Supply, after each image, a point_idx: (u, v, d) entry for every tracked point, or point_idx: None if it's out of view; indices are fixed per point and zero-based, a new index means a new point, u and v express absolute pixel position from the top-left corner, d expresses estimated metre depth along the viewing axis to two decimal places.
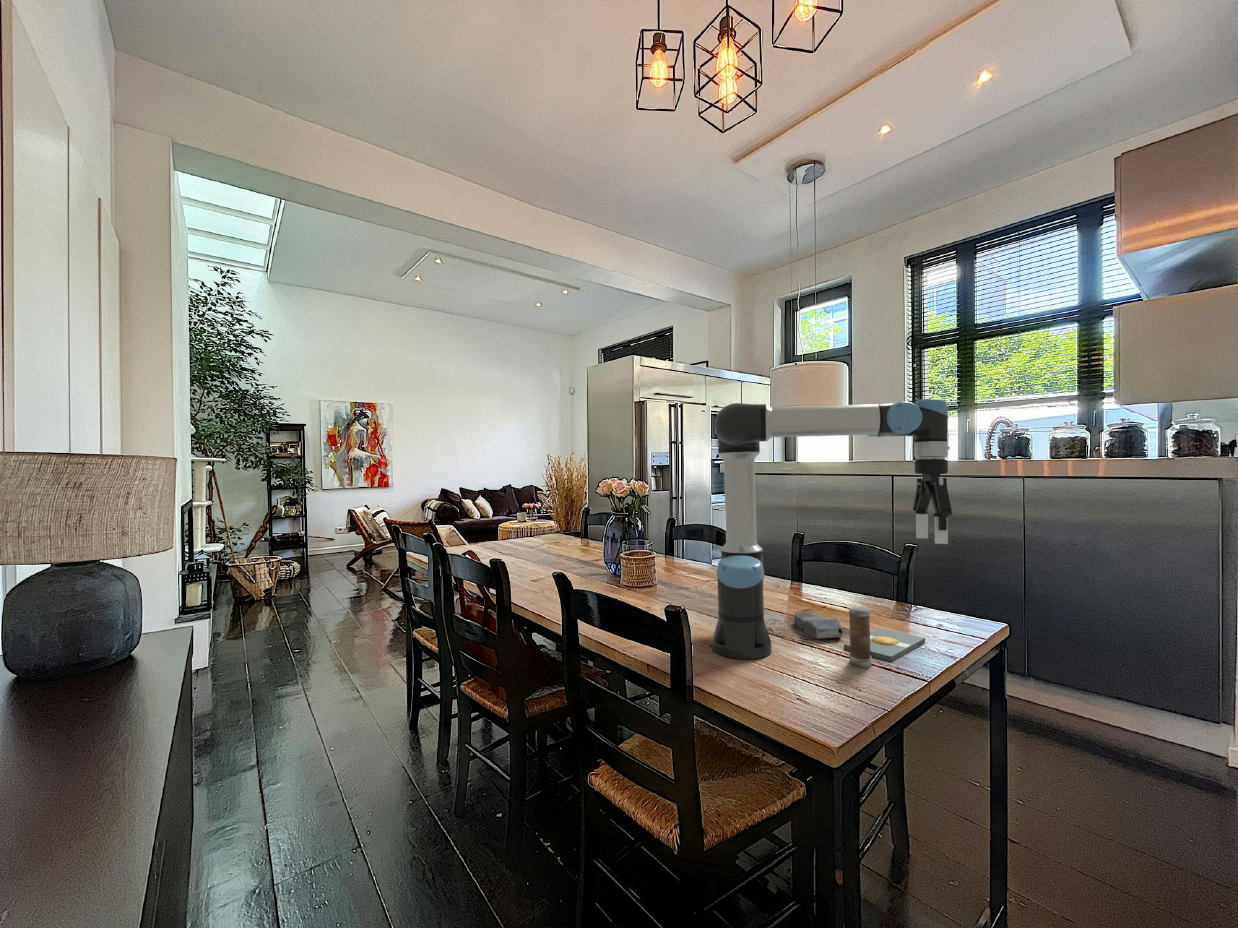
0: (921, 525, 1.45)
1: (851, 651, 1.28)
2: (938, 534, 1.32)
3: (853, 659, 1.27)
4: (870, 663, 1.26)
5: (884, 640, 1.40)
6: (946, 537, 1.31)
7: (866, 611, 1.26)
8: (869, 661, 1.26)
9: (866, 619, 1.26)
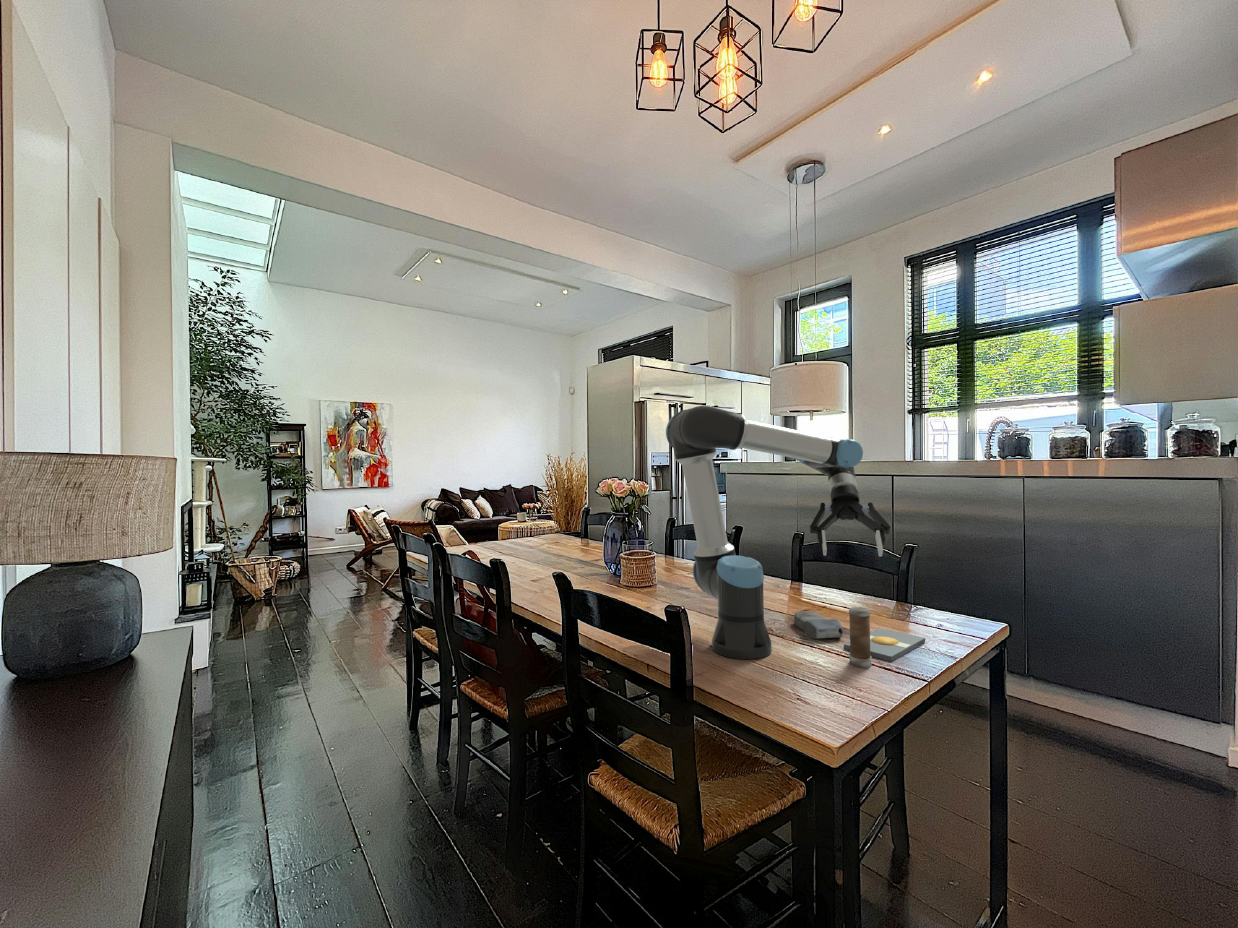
0: None
1: (851, 651, 1.28)
2: (881, 544, 1.40)
3: (853, 659, 1.27)
4: (870, 663, 1.26)
5: (884, 640, 1.40)
6: None
7: (866, 611, 1.26)
8: (869, 661, 1.26)
9: (866, 619, 1.26)
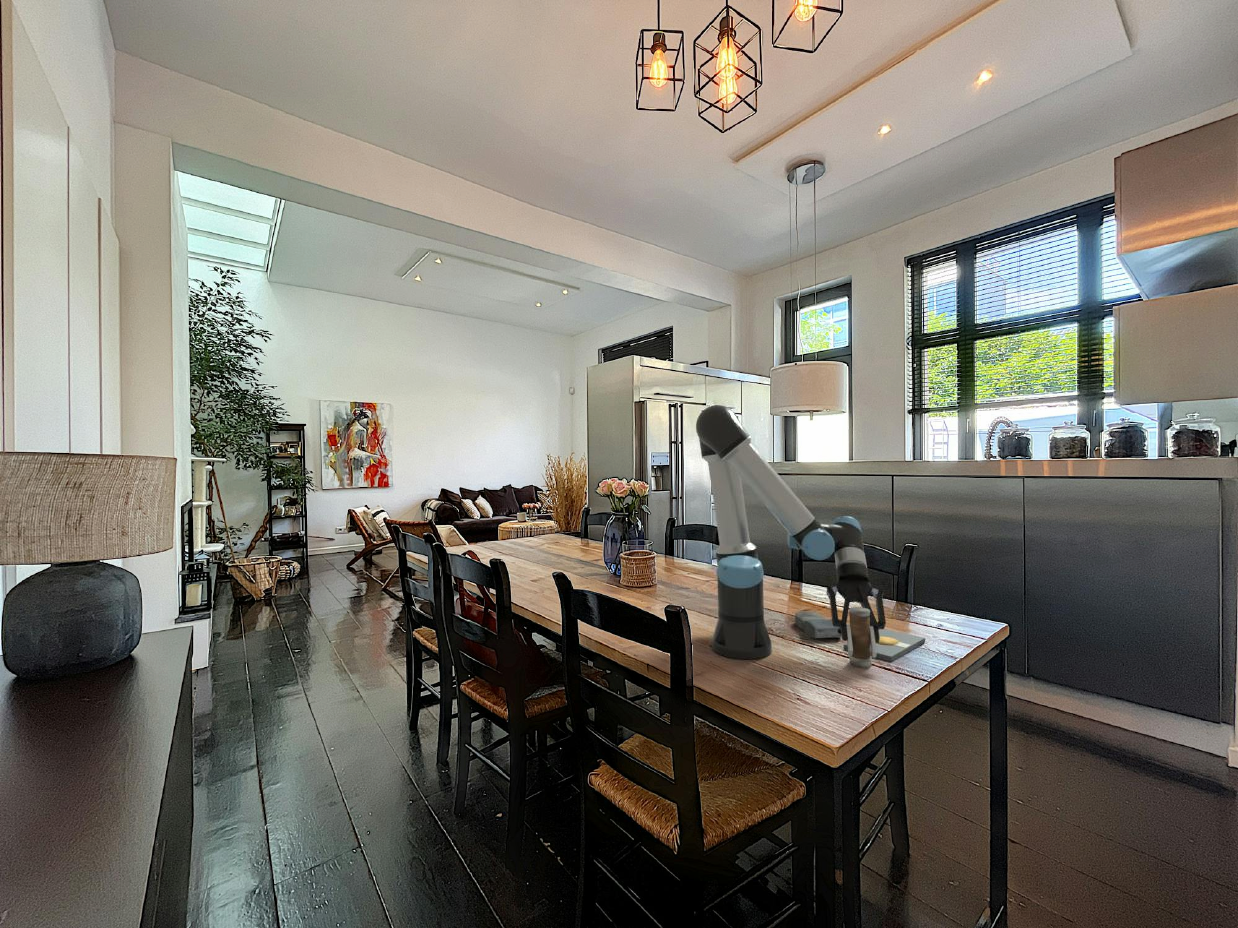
0: None
1: None
2: None
3: (853, 659, 1.27)
4: (870, 663, 1.26)
5: (884, 640, 1.40)
6: None
7: (866, 611, 1.26)
8: (869, 661, 1.26)
9: (866, 619, 1.26)
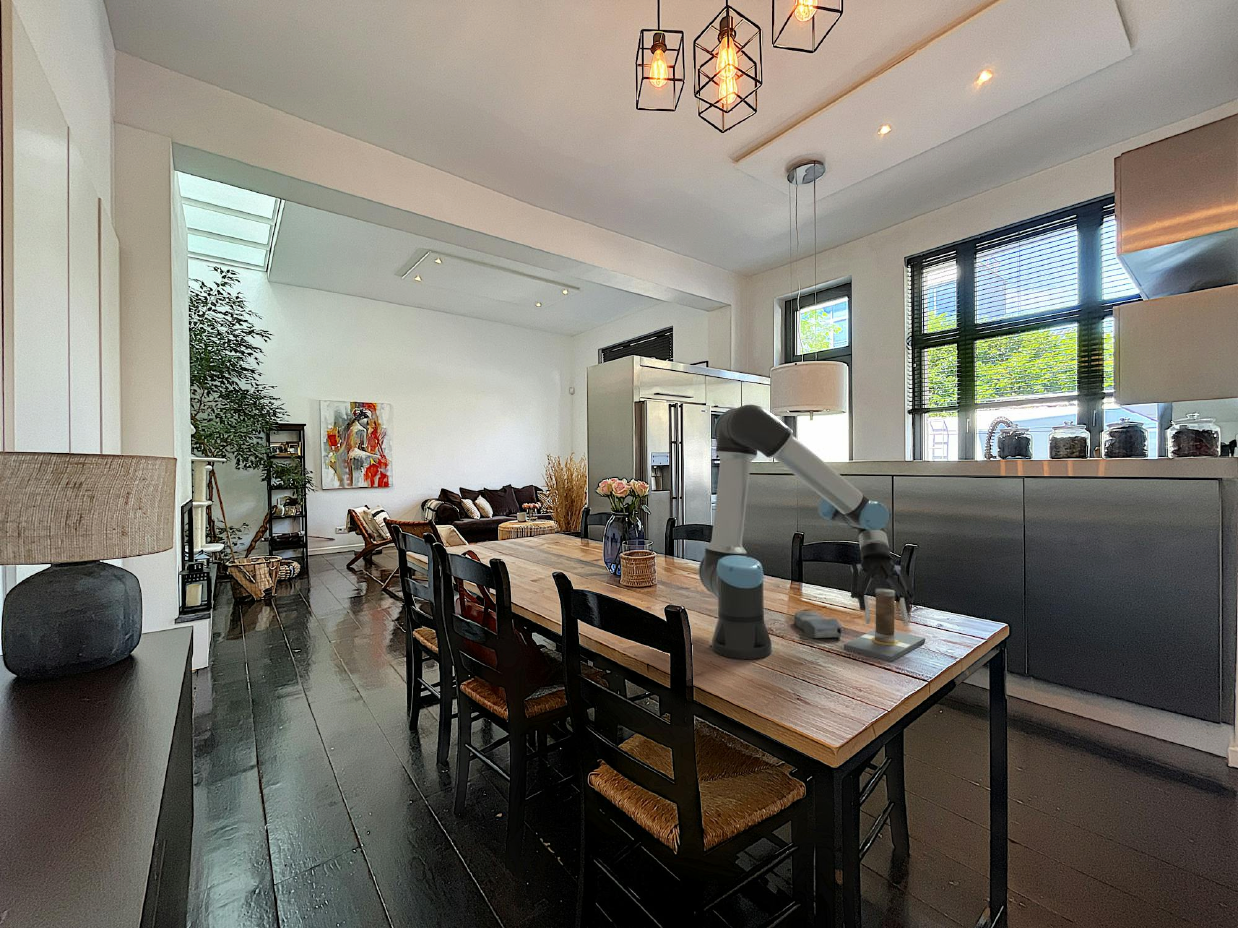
0: None
1: (876, 628, 1.40)
2: None
3: (878, 635, 1.39)
4: (894, 639, 1.38)
5: None
6: None
7: (892, 592, 1.38)
8: (893, 637, 1.38)
9: (892, 599, 1.38)
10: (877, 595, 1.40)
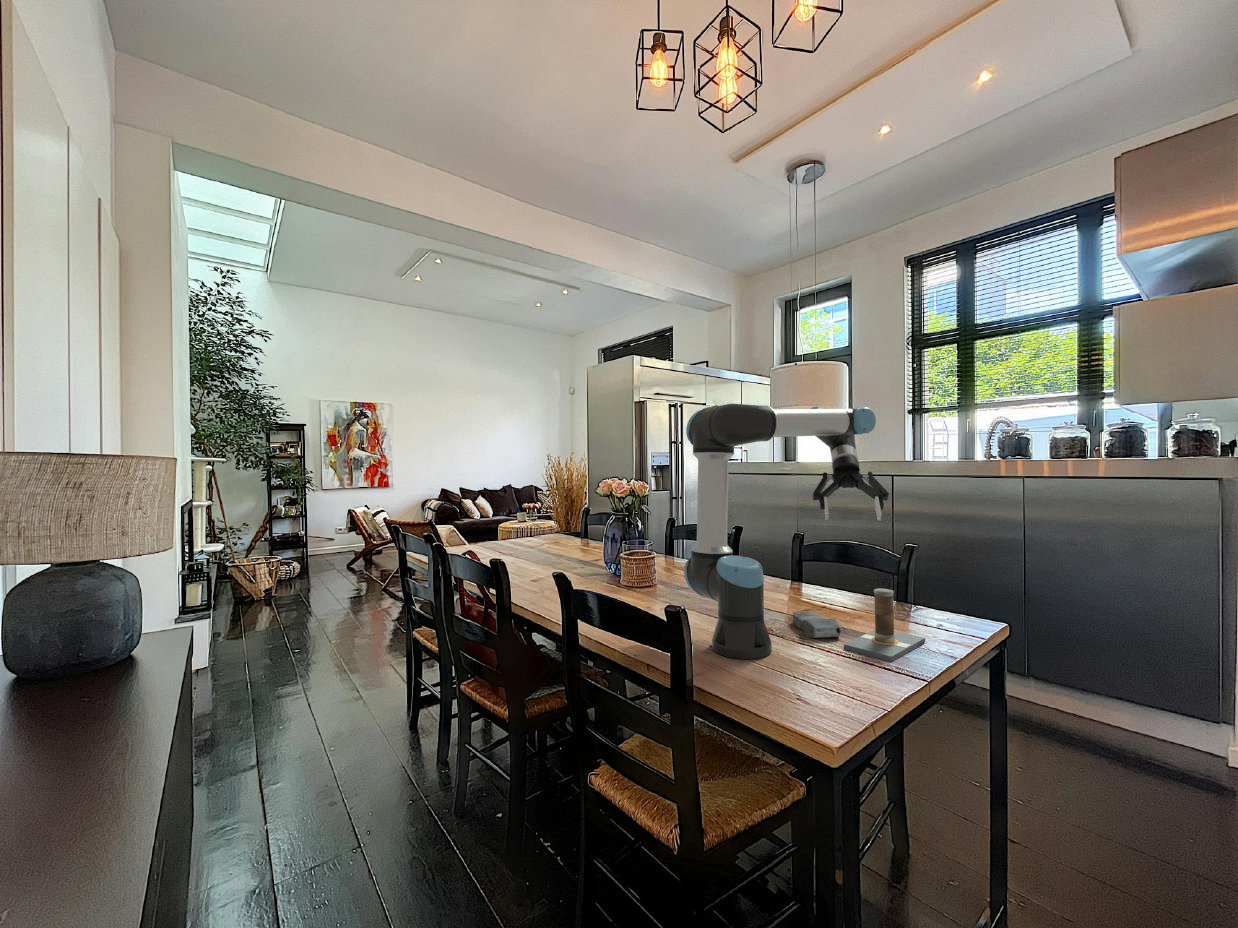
0: None
1: (876, 628, 1.40)
2: None
3: (878, 636, 1.39)
4: (894, 639, 1.38)
5: None
6: None
7: (890, 592, 1.38)
8: (893, 637, 1.38)
9: (890, 599, 1.38)
10: (876, 595, 1.40)
